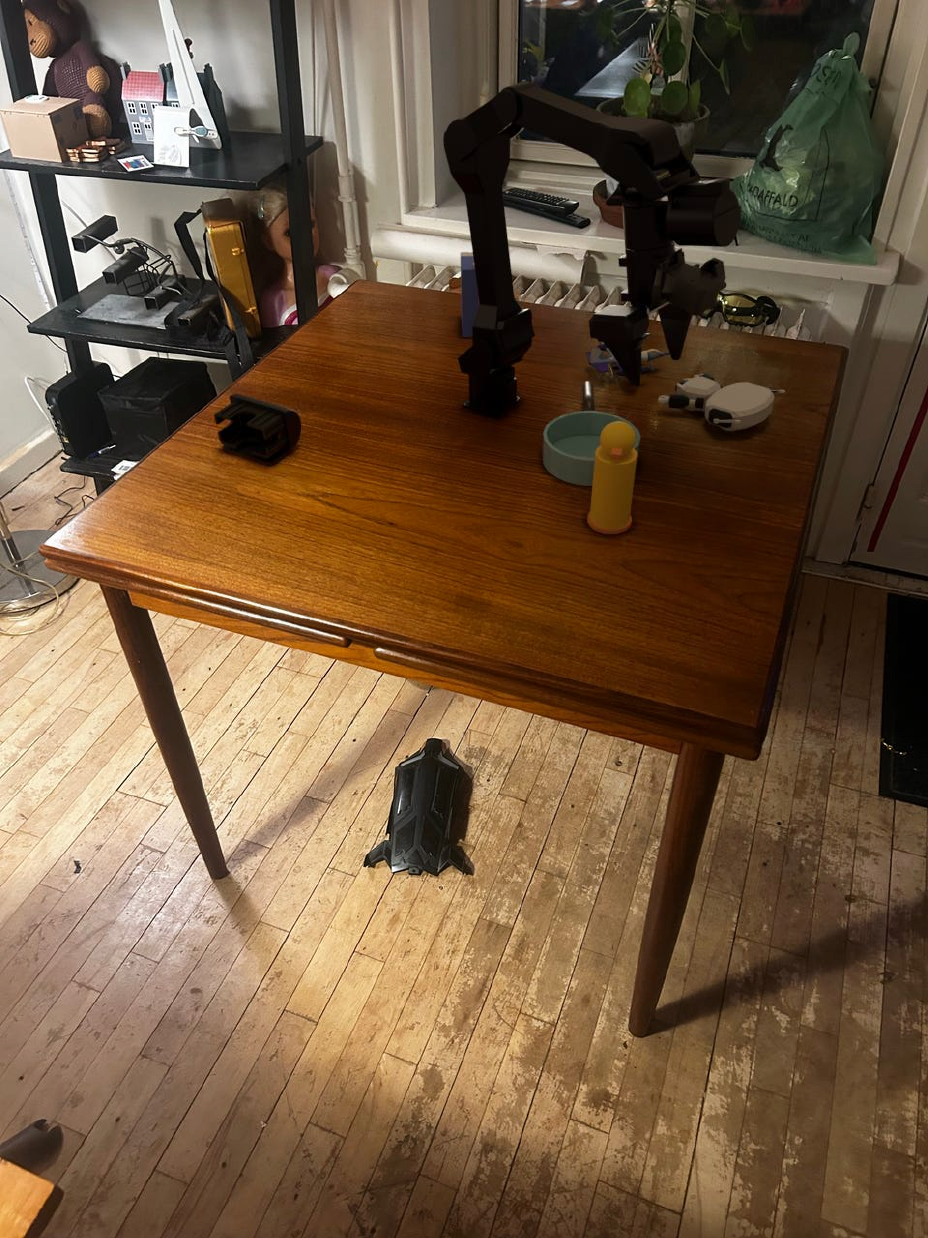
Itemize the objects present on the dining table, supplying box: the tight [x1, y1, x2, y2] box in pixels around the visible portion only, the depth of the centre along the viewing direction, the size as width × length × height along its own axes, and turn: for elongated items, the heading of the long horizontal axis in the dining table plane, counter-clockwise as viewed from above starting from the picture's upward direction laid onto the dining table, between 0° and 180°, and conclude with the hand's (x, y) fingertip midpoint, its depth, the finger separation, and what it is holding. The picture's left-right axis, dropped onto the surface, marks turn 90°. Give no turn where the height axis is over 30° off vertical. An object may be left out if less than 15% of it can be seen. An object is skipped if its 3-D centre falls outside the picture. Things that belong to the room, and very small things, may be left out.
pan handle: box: [581, 381, 596, 412], centre depth 135 cm, size 10×2×2 cm, turn 176°
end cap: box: [213, 393, 302, 467], centre depth 130 cm, size 10×7×7 cm
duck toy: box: [586, 421, 638, 535], centre depth 113 cm, size 6×6×14 cm
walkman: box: [460, 251, 479, 338], centre depth 158 cm, size 8×3×12 cm, turn 1°
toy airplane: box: [585, 342, 670, 383], centre depth 147 cm, size 13×14×4 cm
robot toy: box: [657, 373, 786, 432], centre depth 136 cm, size 12×4×15 cm
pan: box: [541, 410, 641, 487], centre depth 127 cm, size 13×13×4 cm
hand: (656, 372), depth 118 cm, fingers open, 9 cm apart
